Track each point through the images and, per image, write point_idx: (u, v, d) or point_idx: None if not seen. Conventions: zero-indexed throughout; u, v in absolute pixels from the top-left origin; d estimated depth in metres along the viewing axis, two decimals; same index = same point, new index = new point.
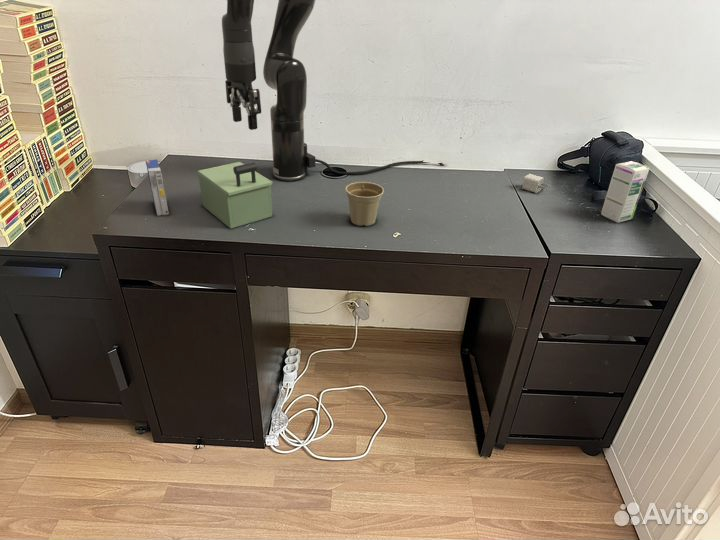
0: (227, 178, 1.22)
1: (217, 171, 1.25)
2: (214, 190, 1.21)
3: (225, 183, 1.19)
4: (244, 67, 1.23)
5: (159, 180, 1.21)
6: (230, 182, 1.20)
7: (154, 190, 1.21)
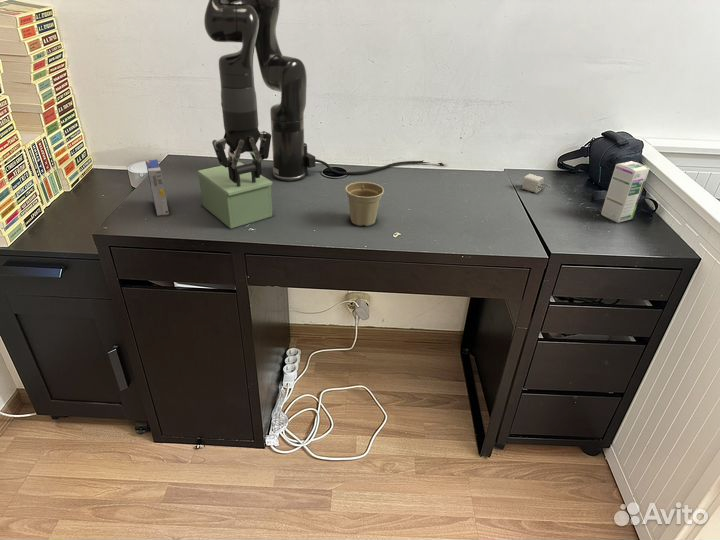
0: (227, 178, 1.22)
1: (217, 171, 1.25)
2: (214, 190, 1.21)
3: (225, 183, 1.19)
4: (223, 112, 1.09)
5: (159, 180, 1.21)
6: (230, 182, 1.20)
7: (154, 190, 1.21)
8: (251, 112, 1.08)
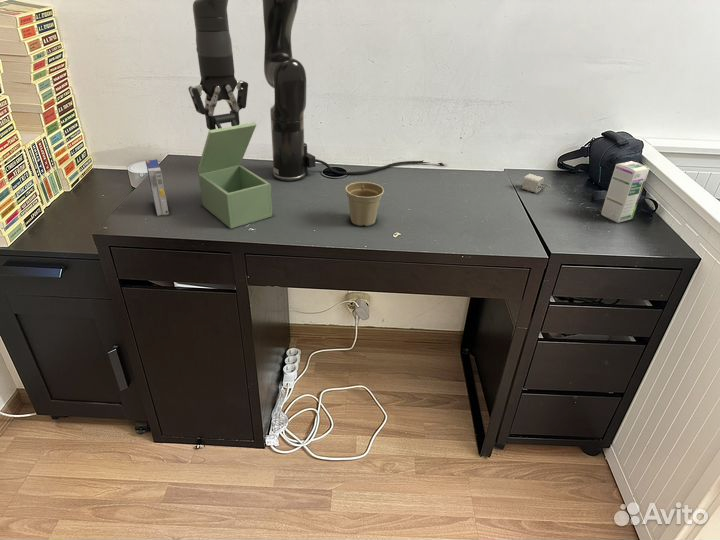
0: None
1: None
2: (214, 190, 1.21)
3: None
4: (198, 58, 1.10)
5: (159, 180, 1.21)
6: None
7: (154, 190, 1.21)
8: (226, 57, 1.09)
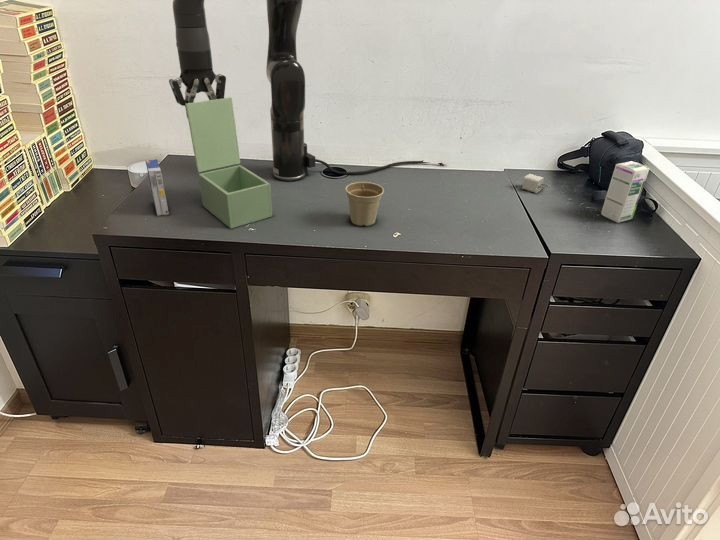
0: None
1: None
2: (214, 190, 1.21)
3: None
4: (178, 52, 1.17)
5: (159, 180, 1.21)
6: None
7: (154, 190, 1.21)
8: (204, 52, 1.17)
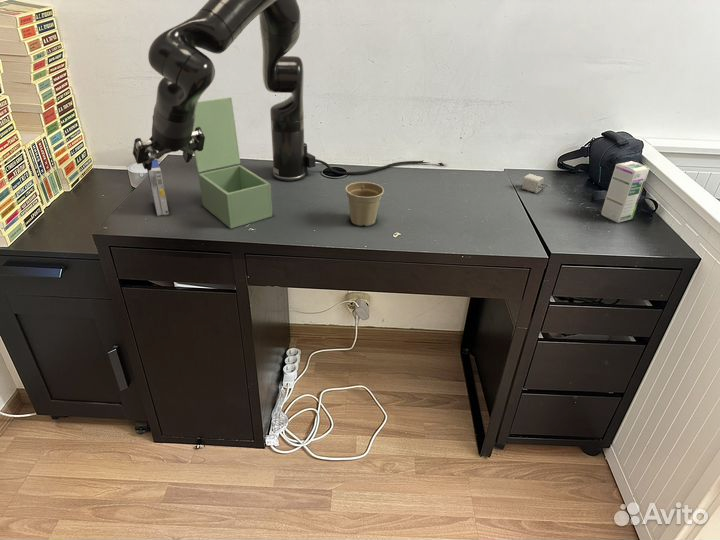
0: None
1: None
2: (214, 190, 1.21)
3: None
4: (153, 124, 0.97)
5: (159, 180, 1.21)
6: None
7: (154, 190, 1.21)
8: (185, 137, 0.98)
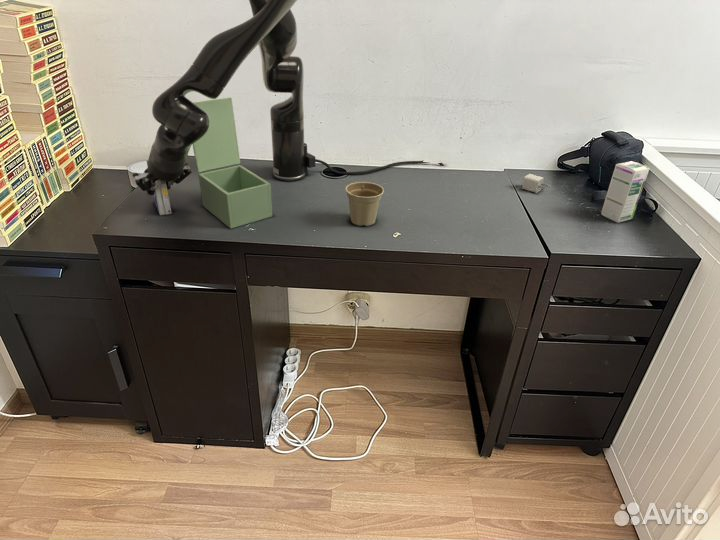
0: None
1: None
2: (214, 190, 1.21)
3: None
4: (149, 159, 1.10)
5: None
6: None
7: (157, 189, 1.22)
8: (178, 172, 1.12)
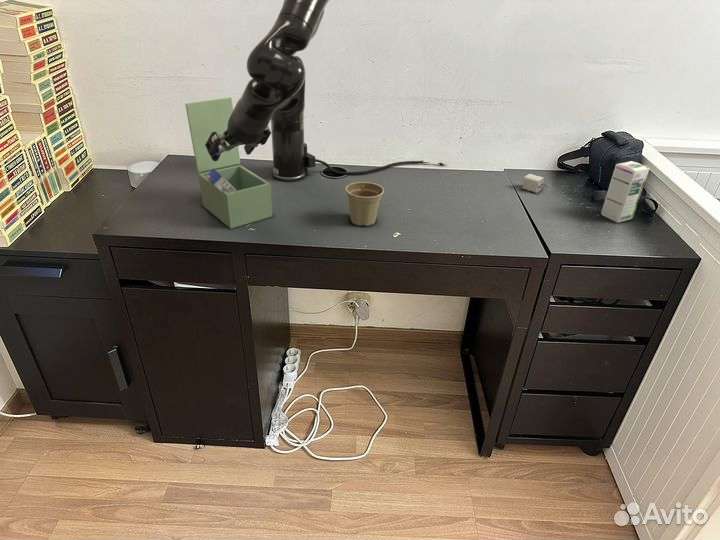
0: None
1: None
2: (214, 190, 1.21)
3: None
4: (232, 119, 1.05)
5: (230, 188, 1.18)
6: None
7: None
8: (260, 133, 1.07)
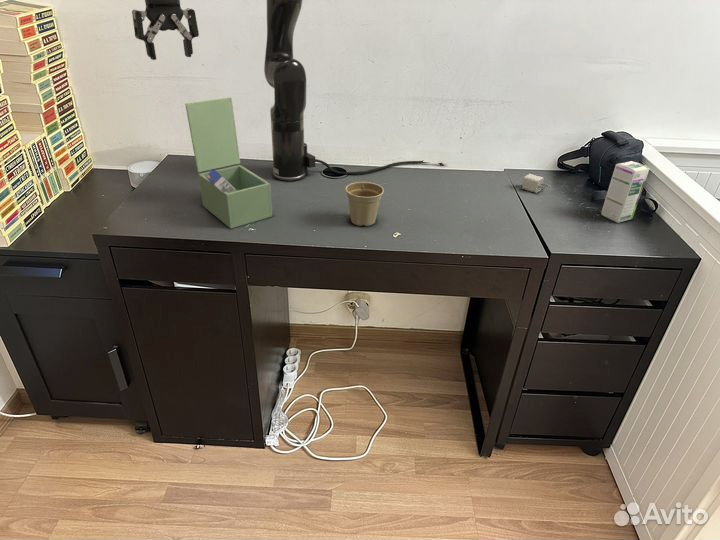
0: None
1: None
2: (214, 190, 1.21)
3: None
4: None
5: (230, 188, 1.18)
6: None
7: None
8: None
